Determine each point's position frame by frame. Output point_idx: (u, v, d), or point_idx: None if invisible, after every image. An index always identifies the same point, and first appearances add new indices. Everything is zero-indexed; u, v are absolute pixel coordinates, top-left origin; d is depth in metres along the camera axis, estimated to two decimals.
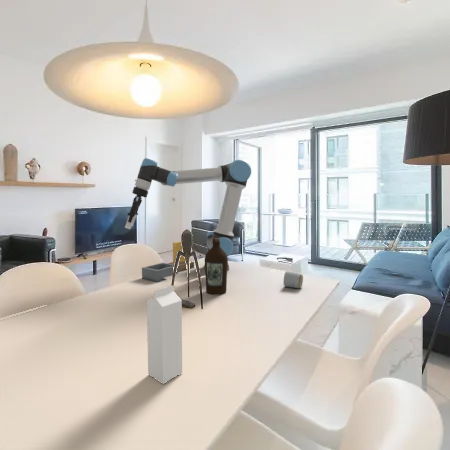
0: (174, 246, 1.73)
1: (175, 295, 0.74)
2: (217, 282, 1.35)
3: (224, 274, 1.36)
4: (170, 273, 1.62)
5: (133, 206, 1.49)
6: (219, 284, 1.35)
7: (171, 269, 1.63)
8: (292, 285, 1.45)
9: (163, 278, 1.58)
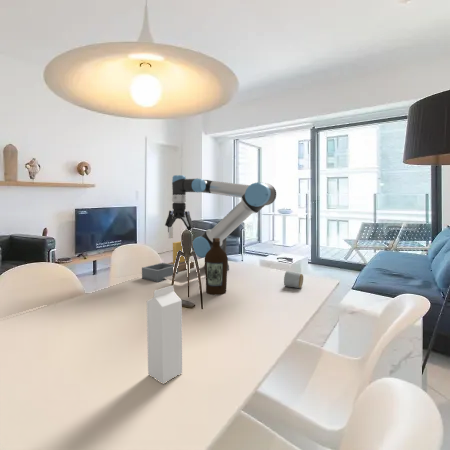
0: (174, 246, 1.73)
1: (175, 295, 0.74)
2: (217, 282, 1.35)
3: (224, 274, 1.36)
4: (170, 273, 1.62)
5: (189, 220, 1.70)
6: (219, 284, 1.35)
7: (171, 269, 1.63)
8: (292, 285, 1.46)
9: (163, 278, 1.58)
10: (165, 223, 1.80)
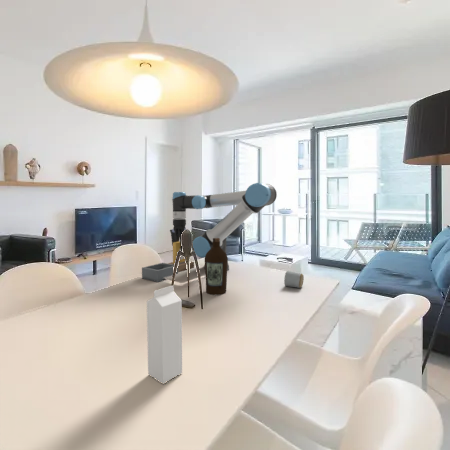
0: (174, 246, 1.73)
1: (175, 295, 0.74)
2: (217, 282, 1.35)
3: (224, 274, 1.36)
4: (170, 273, 1.62)
5: None
6: (219, 284, 1.35)
7: (171, 269, 1.63)
8: (293, 284, 1.46)
9: (163, 278, 1.58)
10: (172, 244, 1.78)
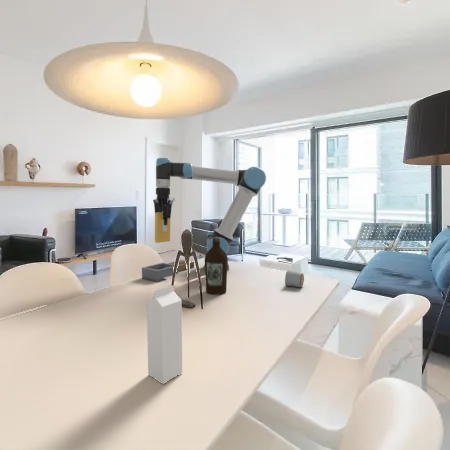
0: (156, 216, 1.61)
1: (175, 295, 0.74)
2: (217, 282, 1.35)
3: (224, 274, 1.36)
4: (170, 273, 1.62)
5: (168, 210, 1.61)
6: (219, 284, 1.35)
7: (171, 269, 1.63)
8: (293, 284, 1.47)
9: (163, 278, 1.58)
10: None
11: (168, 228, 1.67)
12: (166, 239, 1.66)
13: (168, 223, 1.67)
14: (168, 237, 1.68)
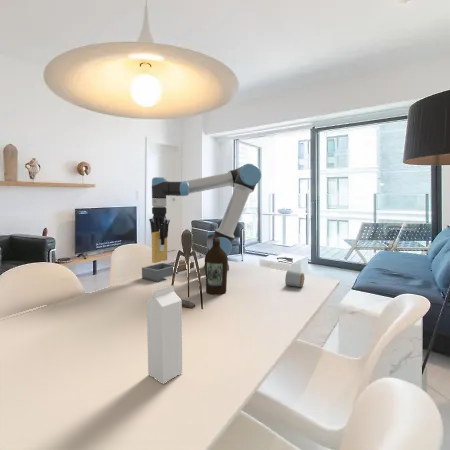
0: (153, 236, 1.59)
1: (175, 295, 0.74)
2: (217, 282, 1.35)
3: (224, 274, 1.36)
4: (170, 273, 1.62)
5: (165, 230, 1.59)
6: (219, 284, 1.35)
7: (171, 269, 1.63)
8: (294, 284, 1.47)
9: (163, 278, 1.58)
10: None
11: (165, 247, 1.65)
12: (163, 258, 1.64)
13: (165, 242, 1.65)
14: (165, 256, 1.66)
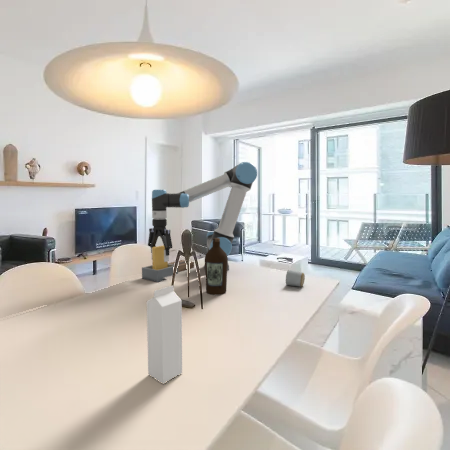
0: (153, 251, 1.59)
1: (175, 295, 0.74)
2: (217, 282, 1.35)
3: (224, 274, 1.36)
4: (170, 273, 1.62)
5: (168, 240, 1.58)
6: (219, 284, 1.35)
7: (171, 269, 1.63)
8: (294, 283, 1.48)
9: (163, 278, 1.58)
10: (148, 243, 1.66)
11: None
12: None
13: None
14: None
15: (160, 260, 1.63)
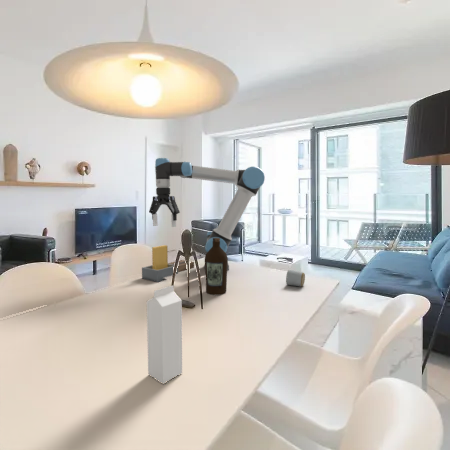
0: (153, 251, 1.59)
1: (175, 295, 0.74)
2: (217, 282, 1.35)
3: (224, 274, 1.36)
4: (170, 273, 1.62)
5: (174, 205, 1.61)
6: (219, 284, 1.35)
7: (171, 269, 1.63)
8: (294, 283, 1.48)
9: (163, 278, 1.58)
10: (149, 210, 1.70)
11: (165, 261, 1.66)
12: None
13: (165, 256, 1.66)
14: None
15: (160, 260, 1.63)
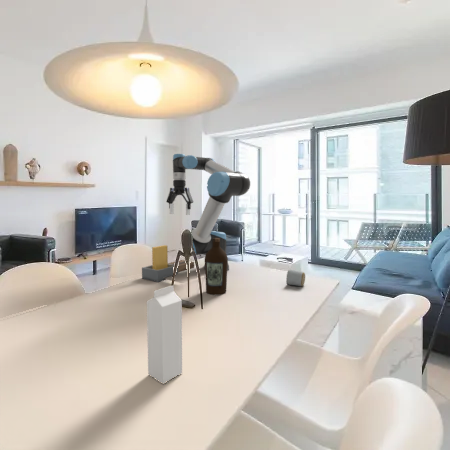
0: (153, 251, 1.59)
1: (175, 295, 0.74)
2: (217, 282, 1.35)
3: (224, 274, 1.36)
4: (170, 273, 1.62)
5: (189, 195, 1.82)
6: (219, 284, 1.35)
7: (171, 269, 1.63)
8: (295, 283, 1.48)
9: (163, 278, 1.58)
10: None
11: (165, 261, 1.66)
12: None
13: (165, 256, 1.66)
14: None
15: (160, 260, 1.63)
